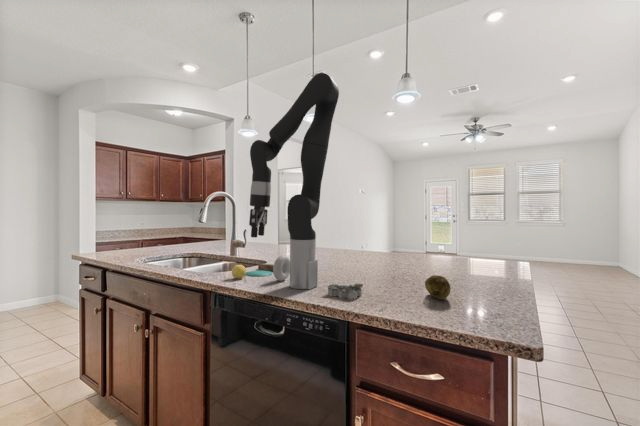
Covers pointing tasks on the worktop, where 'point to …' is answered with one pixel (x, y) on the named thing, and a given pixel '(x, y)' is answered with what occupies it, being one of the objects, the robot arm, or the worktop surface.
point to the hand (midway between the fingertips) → (257, 236)
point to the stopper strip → (265, 267)
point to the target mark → (258, 273)
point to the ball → (238, 271)
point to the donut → (281, 268)
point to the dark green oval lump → (438, 286)
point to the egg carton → (345, 290)
